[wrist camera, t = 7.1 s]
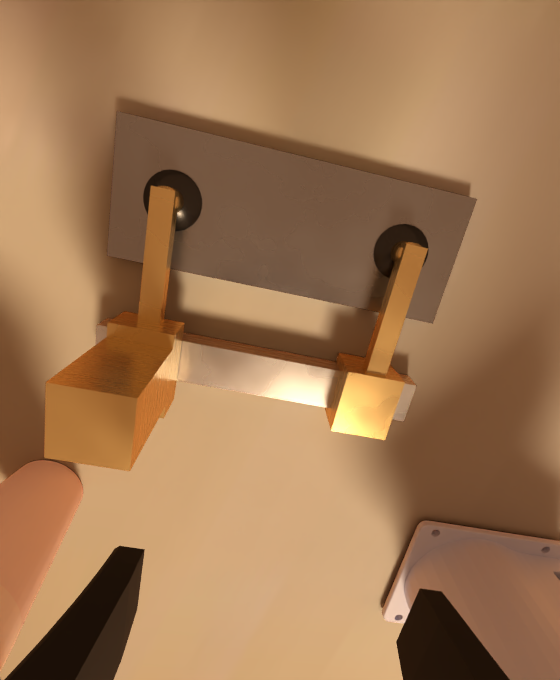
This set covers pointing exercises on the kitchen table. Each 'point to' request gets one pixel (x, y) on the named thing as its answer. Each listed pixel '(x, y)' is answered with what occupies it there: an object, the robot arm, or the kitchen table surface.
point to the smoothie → (31, 537)
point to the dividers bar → (319, 364)
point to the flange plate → (281, 217)
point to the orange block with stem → (122, 365)
